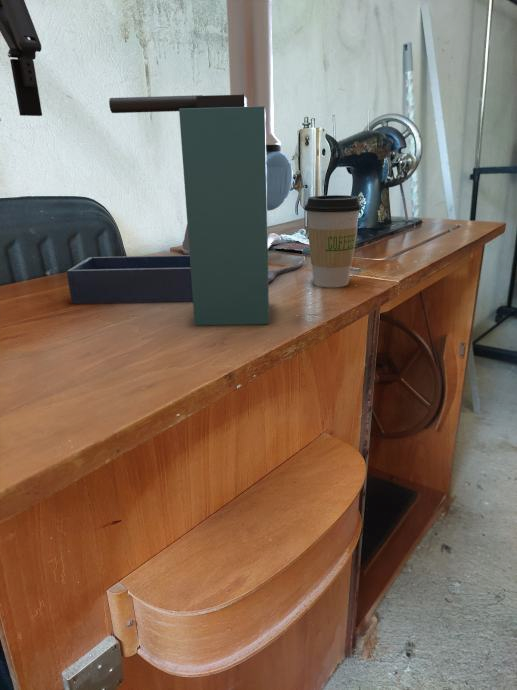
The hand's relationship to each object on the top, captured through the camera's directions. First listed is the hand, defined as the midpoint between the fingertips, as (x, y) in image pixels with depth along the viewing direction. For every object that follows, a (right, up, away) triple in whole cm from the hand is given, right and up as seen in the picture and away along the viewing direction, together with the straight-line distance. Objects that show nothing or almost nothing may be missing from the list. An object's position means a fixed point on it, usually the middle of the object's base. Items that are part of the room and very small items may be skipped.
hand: (9, 118), depth 73 cm
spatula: (+37, -11, +48) cm, 62 cm away
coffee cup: (+48, -21, +21) cm, 57 cm away
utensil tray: (+16, -23, +17) cm, 33 cm away
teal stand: (+31, -28, +4) cm, 42 cm away
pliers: (+39, -18, +29) cm, 52 cm away
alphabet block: (+13, -17, +34) cm, 40 cm away
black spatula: (+25, -1, -6) cm, 25 cm away
